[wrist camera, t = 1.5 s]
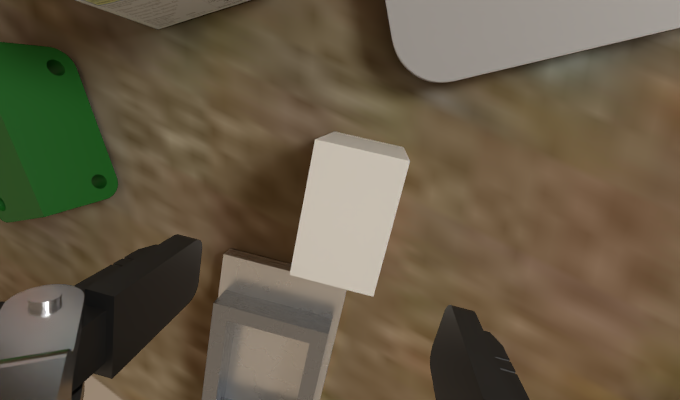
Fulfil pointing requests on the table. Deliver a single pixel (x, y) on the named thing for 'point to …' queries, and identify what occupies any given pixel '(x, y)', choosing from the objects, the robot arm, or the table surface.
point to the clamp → (47, 136)
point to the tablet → (513, 31)
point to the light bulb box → (160, 9)
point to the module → (348, 211)
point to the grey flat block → (269, 332)
